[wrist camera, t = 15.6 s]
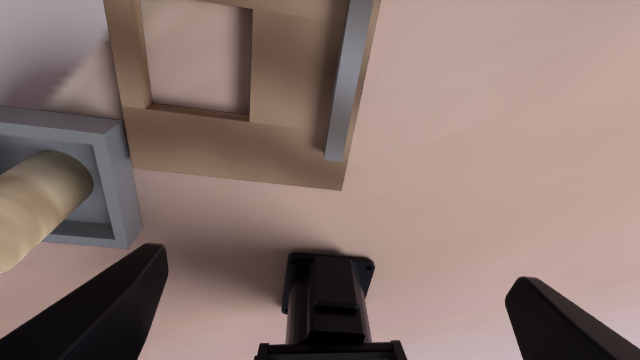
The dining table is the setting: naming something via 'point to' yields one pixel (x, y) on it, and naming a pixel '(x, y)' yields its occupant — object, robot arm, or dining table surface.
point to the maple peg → (38, 201)
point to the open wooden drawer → (257, 96)
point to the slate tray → (96, 155)
